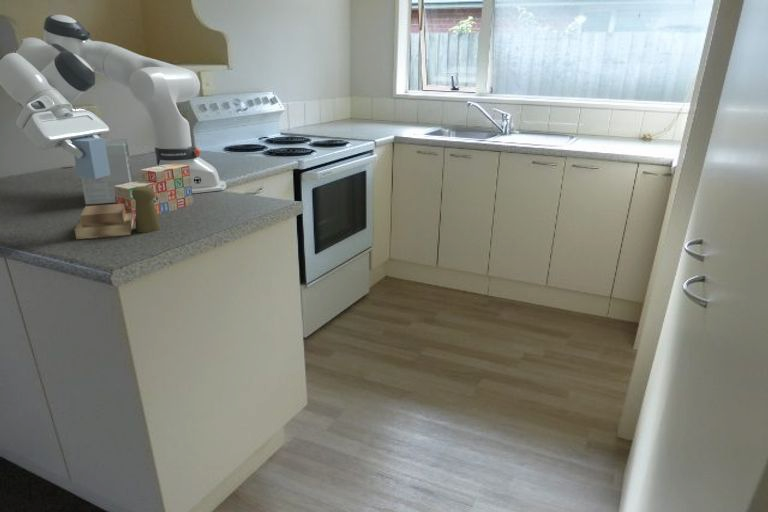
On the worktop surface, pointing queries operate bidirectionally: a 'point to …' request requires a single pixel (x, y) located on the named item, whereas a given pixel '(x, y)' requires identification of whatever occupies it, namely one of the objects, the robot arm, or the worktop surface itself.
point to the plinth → (105, 229)
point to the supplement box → (119, 174)
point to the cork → (145, 210)
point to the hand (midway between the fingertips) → (92, 154)
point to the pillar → (92, 158)
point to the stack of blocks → (159, 188)
